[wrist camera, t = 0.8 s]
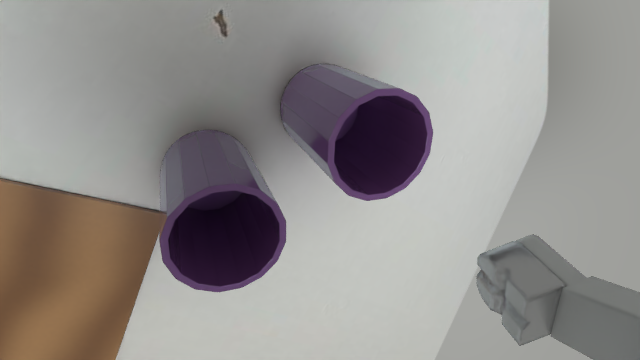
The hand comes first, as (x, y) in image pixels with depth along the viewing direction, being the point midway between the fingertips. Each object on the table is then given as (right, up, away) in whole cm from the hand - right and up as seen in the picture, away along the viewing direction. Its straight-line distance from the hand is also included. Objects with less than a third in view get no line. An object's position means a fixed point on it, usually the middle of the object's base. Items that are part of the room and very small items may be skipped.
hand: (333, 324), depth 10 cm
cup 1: (-9, +4, +20) cm, 22 cm away
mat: (-22, -4, +18) cm, 29 cm away
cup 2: (0, +9, +21) cm, 23 cm away
